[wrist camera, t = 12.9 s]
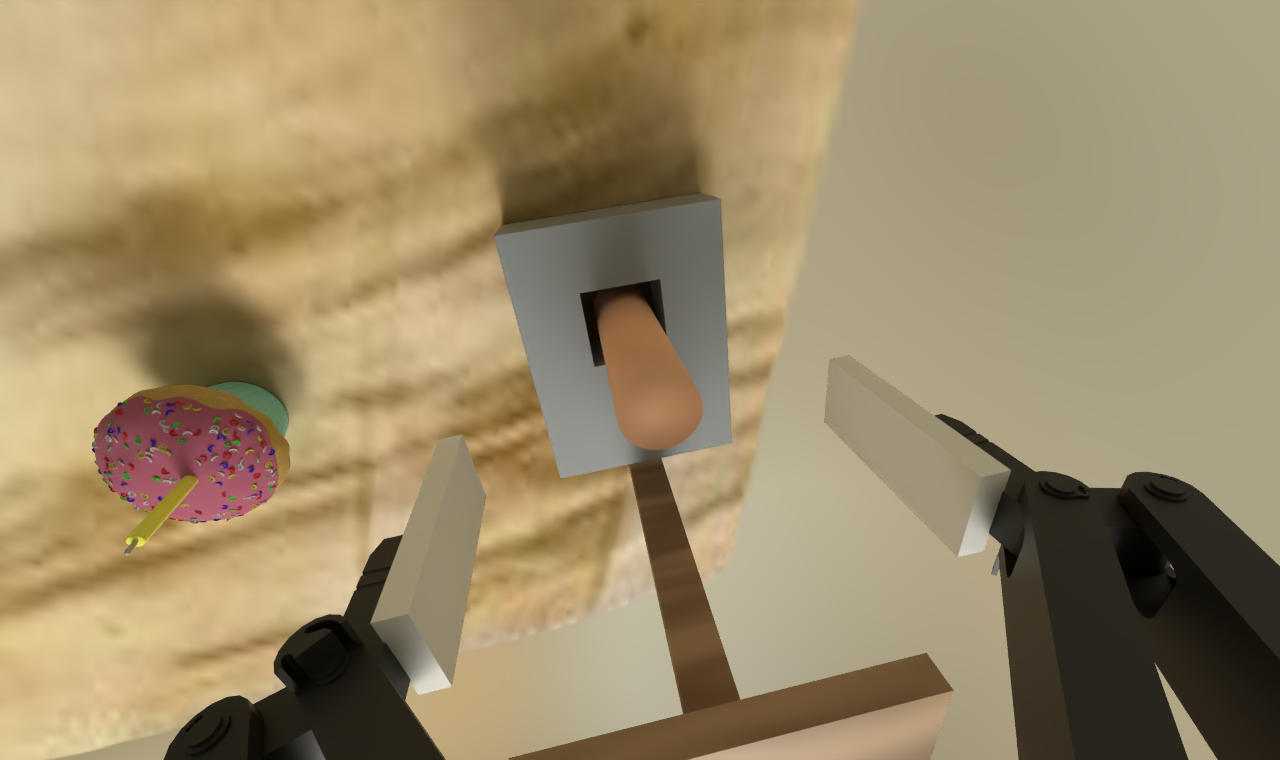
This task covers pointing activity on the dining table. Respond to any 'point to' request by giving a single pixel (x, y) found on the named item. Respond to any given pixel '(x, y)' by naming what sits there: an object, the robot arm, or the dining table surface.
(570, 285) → the socket block
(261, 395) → the cupcake
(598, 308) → the peg
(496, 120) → the dining table surface
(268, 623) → the dining table surface
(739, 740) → the wooden t-shaped stand
